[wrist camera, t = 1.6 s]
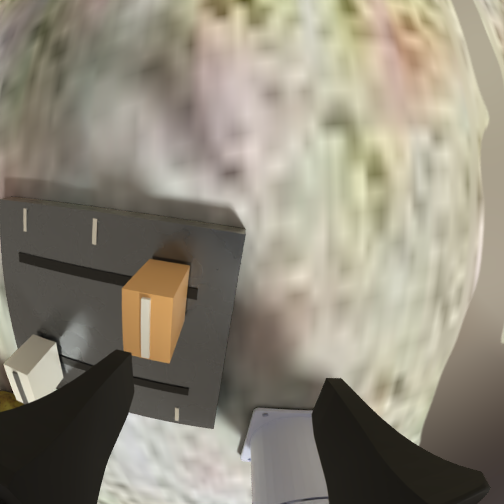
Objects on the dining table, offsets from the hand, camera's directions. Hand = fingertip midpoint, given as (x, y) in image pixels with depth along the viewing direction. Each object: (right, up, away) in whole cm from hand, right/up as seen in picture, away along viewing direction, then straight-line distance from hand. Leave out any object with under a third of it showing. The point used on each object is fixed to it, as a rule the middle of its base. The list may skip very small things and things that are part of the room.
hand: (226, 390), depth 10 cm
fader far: (-15, -3, +8) cm, 18 cm away
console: (-10, 0, +9) cm, 14 cm away
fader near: (-4, +3, +7) cm, 9 cm away
